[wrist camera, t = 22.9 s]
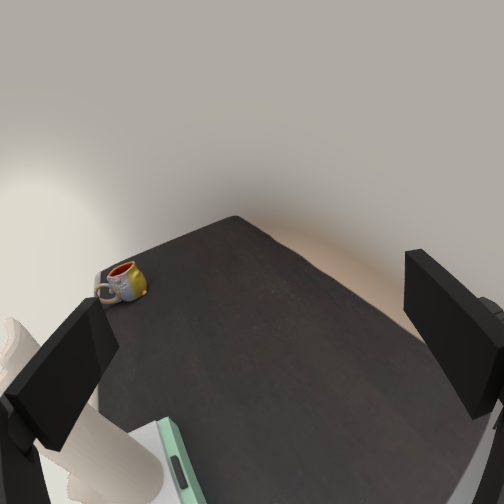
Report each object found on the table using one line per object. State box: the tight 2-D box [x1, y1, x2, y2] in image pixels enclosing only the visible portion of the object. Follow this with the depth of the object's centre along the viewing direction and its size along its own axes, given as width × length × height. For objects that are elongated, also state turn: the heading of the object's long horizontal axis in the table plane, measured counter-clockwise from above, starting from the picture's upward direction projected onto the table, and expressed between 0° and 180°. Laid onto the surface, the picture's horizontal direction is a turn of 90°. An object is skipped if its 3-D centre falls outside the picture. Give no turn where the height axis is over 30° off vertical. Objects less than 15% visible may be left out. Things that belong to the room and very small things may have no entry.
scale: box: [128, 417, 207, 504], centre depth 25 cm, size 16×10×3 cm, turn 24°
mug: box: [94, 262, 147, 304], centre depth 64 cm, size 12×7×7 cm, turn 108°
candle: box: [0, 317, 164, 504], centre depth 20 cm, size 7×14×20 cm, turn 102°
